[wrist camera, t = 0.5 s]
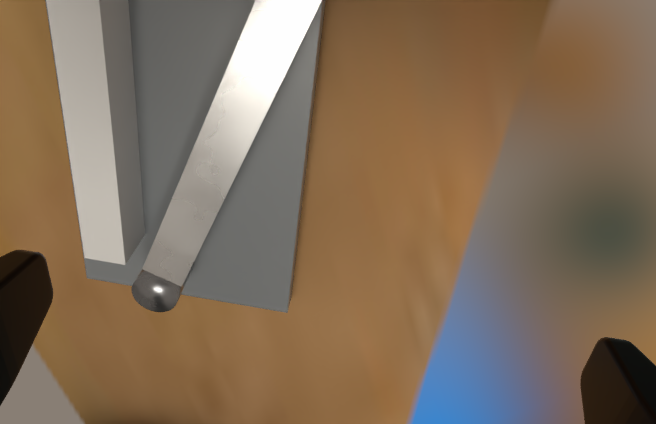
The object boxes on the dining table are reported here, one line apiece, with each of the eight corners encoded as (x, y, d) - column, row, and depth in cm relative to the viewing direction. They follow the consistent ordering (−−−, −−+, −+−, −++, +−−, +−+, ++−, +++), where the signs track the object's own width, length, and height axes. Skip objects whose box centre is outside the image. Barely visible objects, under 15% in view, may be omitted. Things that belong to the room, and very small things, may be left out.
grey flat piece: (291, 297, 26) (278, 346, 24) (97, 263, 26) (64, 309, 24) (337, -100, 17) (324, -87, 15) (42, -145, 17) (-19, -140, 15)
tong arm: (184, 285, 25) (168, 318, 23) (145, 267, 24) (126, 299, 23) (333, -15, 17) (325, 1, 16) (278, -46, 17) (264, -32, 15)
